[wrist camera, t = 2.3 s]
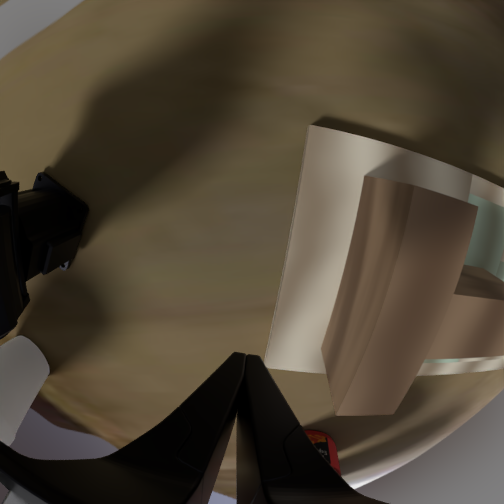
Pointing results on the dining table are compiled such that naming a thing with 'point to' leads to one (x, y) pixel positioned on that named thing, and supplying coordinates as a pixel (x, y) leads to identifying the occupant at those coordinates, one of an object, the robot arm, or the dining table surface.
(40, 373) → the foam cup
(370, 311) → the t block
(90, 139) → the dining table surface
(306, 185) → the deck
